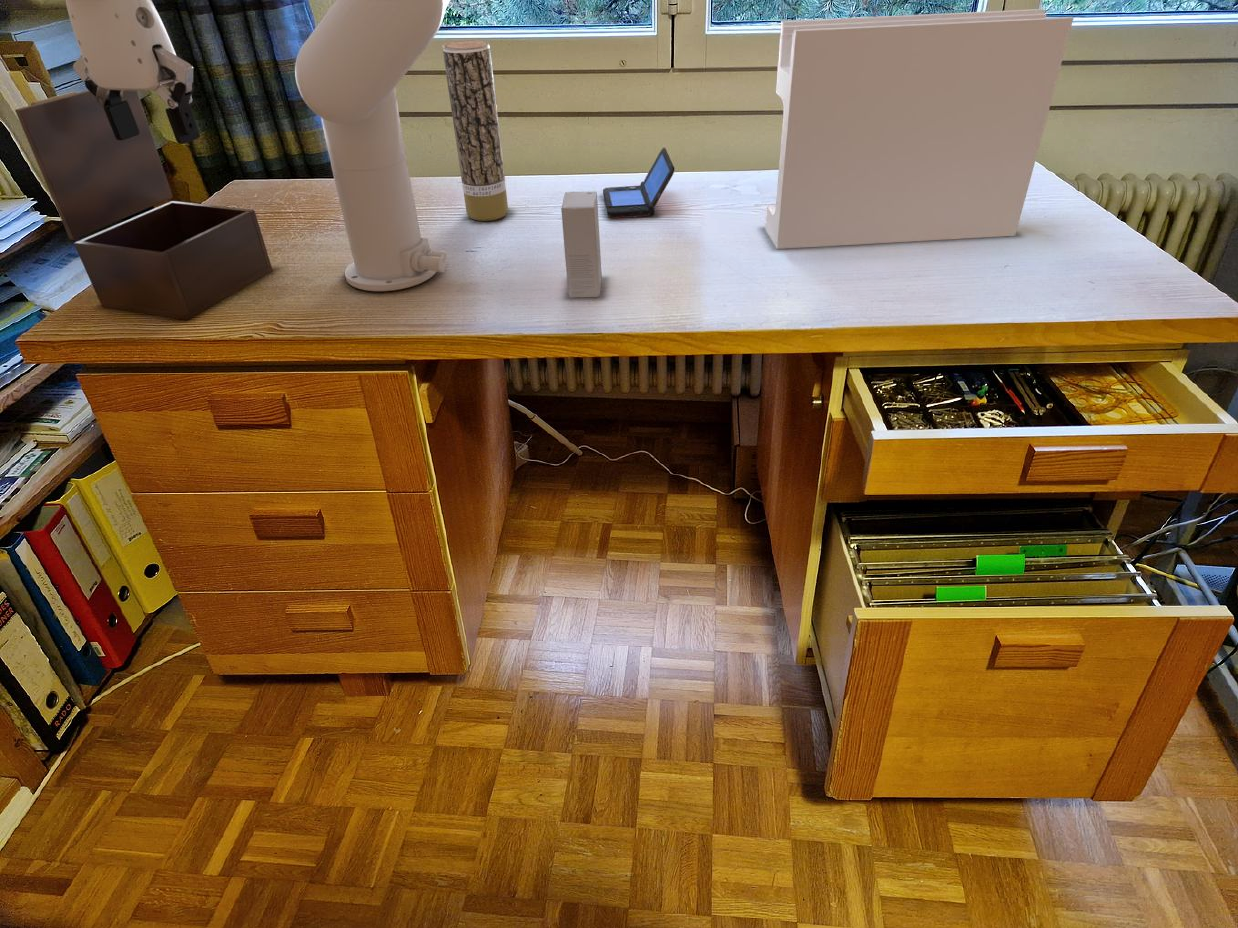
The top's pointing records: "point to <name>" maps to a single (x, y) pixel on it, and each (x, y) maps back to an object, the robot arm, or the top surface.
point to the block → (911, 125)
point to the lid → (93, 161)
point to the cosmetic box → (582, 244)
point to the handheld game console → (640, 191)
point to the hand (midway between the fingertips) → (158, 139)
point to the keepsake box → (175, 259)
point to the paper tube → (476, 128)
